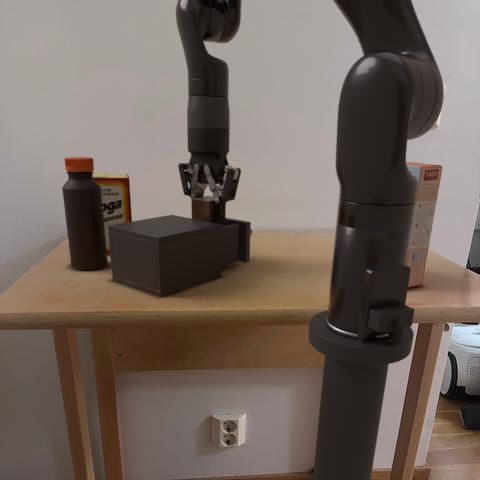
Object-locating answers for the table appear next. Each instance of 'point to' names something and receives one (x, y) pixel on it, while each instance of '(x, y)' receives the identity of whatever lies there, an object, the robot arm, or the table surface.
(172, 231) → the cabinet
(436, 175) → the cracker box
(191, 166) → the robot arm
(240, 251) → the drawer
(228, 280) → the table surface
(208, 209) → the block
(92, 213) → the bottle
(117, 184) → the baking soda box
